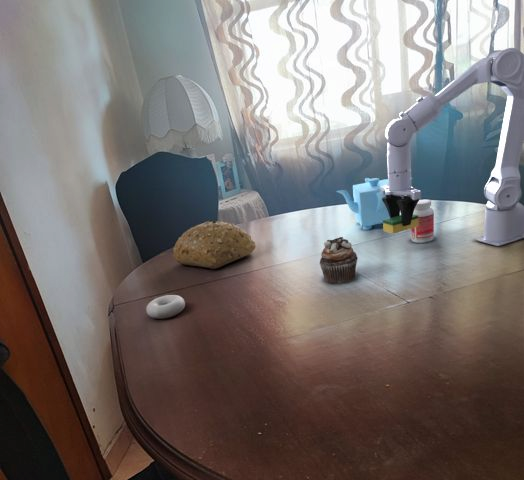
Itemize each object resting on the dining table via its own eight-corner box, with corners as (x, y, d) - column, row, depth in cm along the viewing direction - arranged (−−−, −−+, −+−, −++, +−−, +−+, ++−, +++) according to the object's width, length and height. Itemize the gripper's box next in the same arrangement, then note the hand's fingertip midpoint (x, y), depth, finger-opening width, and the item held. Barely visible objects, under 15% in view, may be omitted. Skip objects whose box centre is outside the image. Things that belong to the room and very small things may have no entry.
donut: (187, 302, 124) (150, 308, 124) (184, 290, 122) (147, 296, 122) (185, 317, 115) (145, 324, 115) (182, 304, 113) (141, 311, 113)
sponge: (407, 223, 128) (407, 212, 127) (418, 226, 124) (418, 215, 123) (383, 231, 126) (382, 220, 125) (393, 234, 123) (392, 222, 121)
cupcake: (314, 278, 123) (310, 241, 118) (345, 268, 125) (342, 231, 120) (333, 288, 115) (329, 249, 110) (366, 277, 117) (363, 238, 112)
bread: (168, 266, 154) (158, 231, 149) (215, 246, 167) (207, 212, 161) (216, 275, 139) (207, 236, 133) (264, 251, 151) (257, 214, 145)
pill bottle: (438, 238, 133) (438, 199, 128) (423, 244, 131) (423, 205, 126) (420, 235, 138) (420, 197, 133) (406, 241, 136) (405, 203, 130)
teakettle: (384, 234, 146) (382, 185, 139) (336, 230, 158) (332, 185, 151) (415, 216, 156) (415, 171, 149) (368, 214, 169) (366, 172, 162)
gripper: (370, 172, 123) (372, 222, 130) (403, 176, 111) (404, 232, 118) (392, 166, 125) (394, 216, 132) (428, 170, 113) (427, 225, 119)
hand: (400, 223), depth 125 cm, fingers closed on sponge, 4 cm apart
